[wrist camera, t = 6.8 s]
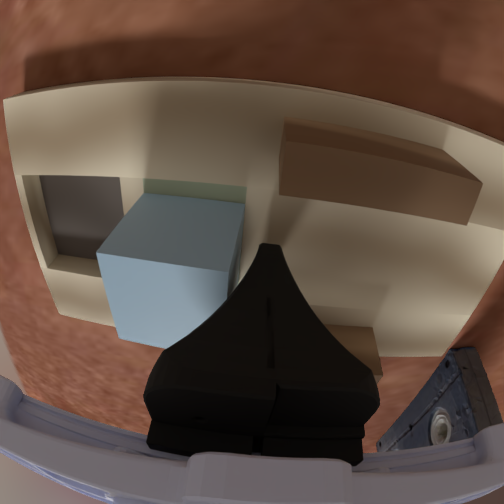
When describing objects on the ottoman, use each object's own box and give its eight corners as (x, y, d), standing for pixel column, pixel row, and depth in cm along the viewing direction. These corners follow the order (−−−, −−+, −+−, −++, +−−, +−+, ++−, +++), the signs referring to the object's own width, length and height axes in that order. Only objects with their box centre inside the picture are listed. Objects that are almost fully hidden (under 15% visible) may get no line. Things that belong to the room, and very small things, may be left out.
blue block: (237, 285, 14) (223, 358, 11) (151, 272, 14) (119, 338, 11) (245, 203, 12) (228, 271, 9) (143, 192, 12) (96, 252, 9)
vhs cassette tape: (394, 440, 29) (402, 517, 21) (371, 442, 30) (377, 521, 22) (480, 342, 19) (519, 459, 11) (450, 345, 19) (487, 472, 11)
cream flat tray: (435, 338, 18) (454, 395, 14) (69, 297, 18) (38, 350, 15) (526, 152, 10) (584, 196, 7) (23, 91, 11) (-45, 121, 7)
